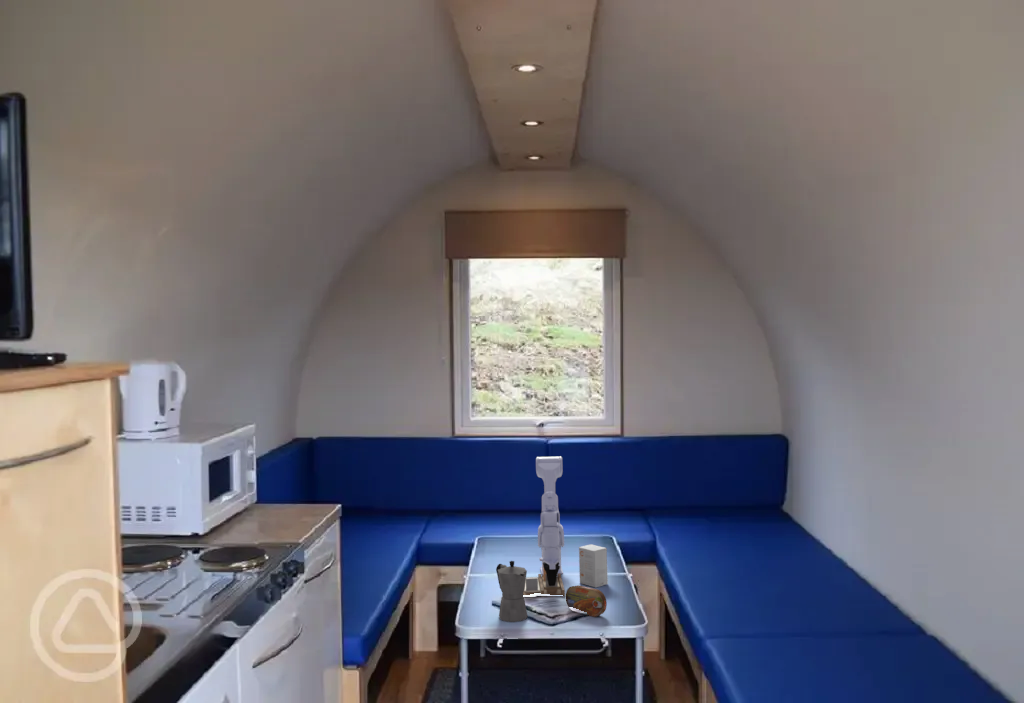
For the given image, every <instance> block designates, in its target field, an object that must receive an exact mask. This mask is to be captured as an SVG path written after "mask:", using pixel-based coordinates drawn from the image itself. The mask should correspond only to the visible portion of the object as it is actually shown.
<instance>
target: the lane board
mask: <svg viewBox="0 0 1024 703" xmlns="http://www.w3.org/2000/svg"><path fill="white" fill-rule="evenodd" d="M536 577H537V578H538V582H539V587H540V592H526V593H524V592H523V595H530V594H534V593H541V594H550V595H563V596H562V597H565V596H566V591H565V586H564V583H563V578H562V574H560V573H558V574H557V578H558V582H559V586H560V589H544V586H543V580H542V574H541V573H538V574H537V576H536Z"/></svg>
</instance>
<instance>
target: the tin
mask: <svg viewBox="0 0 1024 703" xmlns="http://www.w3.org/2000/svg"><path fill="white" fill-rule="evenodd" d="M564 598H565V602H566V605H567V607H568V608H569V607H573V608H576V609H579V610H581V611H584V612H587V614H588V615H589V616H588V615H587V616H588V617H593V618H596V617H598V616H600V615H603V614H604V613H605V612H606V610H607V602H608V601H607V597H606V596H605V594H604V593H603V591H601V590H600V589H599V588H598V589H597V588H594V587H590V586H585V585H584V586H583V585H573V586H570V587H569V588H567V590H566V591H565V596H564Z"/></svg>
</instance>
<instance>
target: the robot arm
mask: <svg viewBox="0 0 1024 703" xmlns="http://www.w3.org/2000/svg"><path fill="white" fill-rule="evenodd" d="M563 466H564V465H563V457H562V456H561V455H560V456H536V458H535V472H536V476H537V477H538V478H541V479H542V481H543V485H544V486H543V489H544V490H543V491H544V492H543V494H542V496H541V513H540V525H538V527H537V546H538V547H539V548H541V549H540V550H541V557H539V562H541V566H540V567H539V569H540V574H541V576H542V575H543V567H544V570H545V571H546V574H547V579H548V584H549V586H555V583H556V577H558V573H560V574H561V575H563V574H564V570H563V568H562V548H564V547H565V532H564V526H563V525H562V524H561V522H560V520H561V518H560V516H561V515H560V511H559V496H558V495H557V493H556V482H557V480H558V478H559V479H560V478H561V477H562V475H563V472H564V471H563Z"/></svg>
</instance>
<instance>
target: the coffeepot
mask: <svg viewBox="0 0 1024 703" xmlns="http://www.w3.org/2000/svg"><path fill="white" fill-rule="evenodd" d="M495 570H496V575H497V579H498V580H497V581H498V584H499V585H498V586H499V589H500V591H501V594H502V596H501V597H500V605H499V613H498V617H499V619H500V620H501V621H503V622H507V623H517V622H523V621H525V620H526V619H527V618H528V612H527V606H526V600H525V598H524V597H523V592H524V590H525V582H526V577H527V572H528V570H527V569H526V568H525V567H521V566H515V561H514V560H510V561H509V566H507V565H506V564H502V563H499V564H497V566H496V568H495Z"/></svg>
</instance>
